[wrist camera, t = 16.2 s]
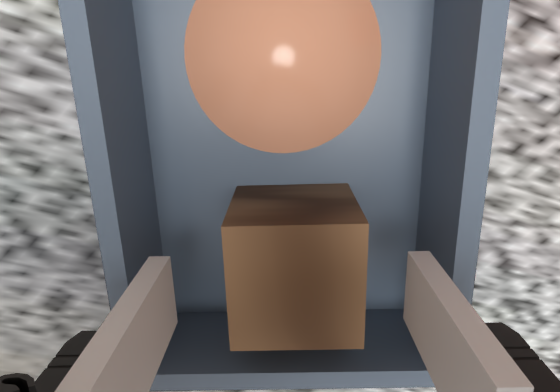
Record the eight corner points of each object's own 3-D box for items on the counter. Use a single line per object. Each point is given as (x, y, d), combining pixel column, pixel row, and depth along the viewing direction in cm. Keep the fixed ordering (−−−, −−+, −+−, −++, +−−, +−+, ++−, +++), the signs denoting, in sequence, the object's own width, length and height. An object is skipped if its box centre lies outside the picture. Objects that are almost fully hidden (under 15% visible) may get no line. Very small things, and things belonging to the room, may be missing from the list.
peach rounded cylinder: (226, 121, 18) (193, 155, 11) (218, -6, 17) (174, -52, 10) (343, 118, 18) (377, 150, 11) (345, -10, 17) (386, -59, 10)
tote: (159, 319, 22) (124, 391, 17) (108, -67, 17) (37, -118, 12) (422, 315, 22) (461, 386, 17) (456, -79, 16) (527, -137, 12)
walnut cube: (242, 284, 21) (230, 351, 16) (236, 185, 19) (220, 227, 14) (345, 282, 20) (364, 349, 16) (347, 183, 19) (369, 223, 14)
